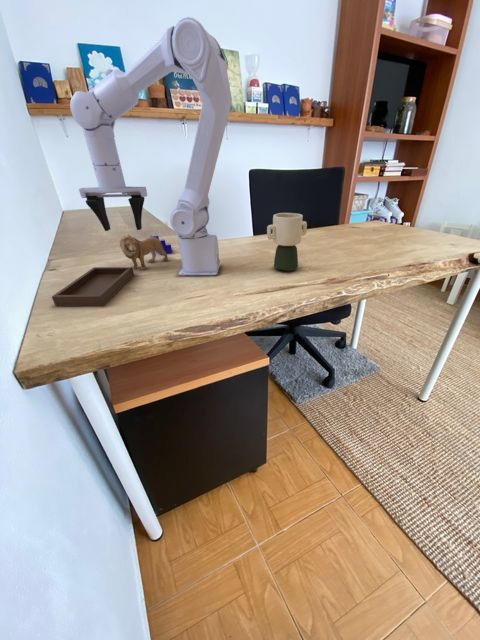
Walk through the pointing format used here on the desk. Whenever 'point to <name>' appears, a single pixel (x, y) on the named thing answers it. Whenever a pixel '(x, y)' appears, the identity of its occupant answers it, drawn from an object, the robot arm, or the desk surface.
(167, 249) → the cable holder
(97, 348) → the desk surface
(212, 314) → the desk surface
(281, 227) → the beige and green trophy
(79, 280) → the brown rectangular tray
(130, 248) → the lion figurine
